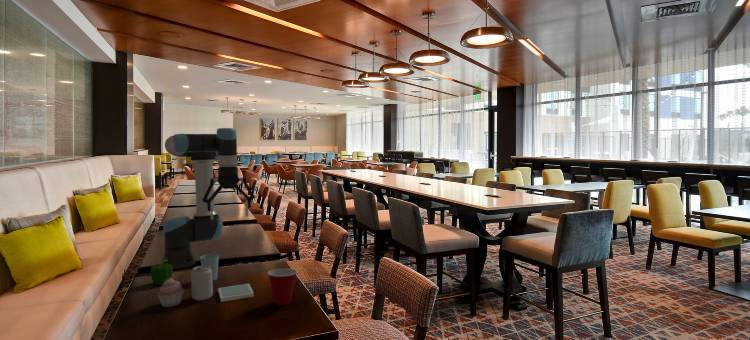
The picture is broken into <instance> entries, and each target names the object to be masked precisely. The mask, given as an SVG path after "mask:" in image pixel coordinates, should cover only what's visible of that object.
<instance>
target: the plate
mask: <svg viewBox="0 0 750 340" xmlns="http://www.w3.org/2000/svg"><path fill="white" fill-rule="evenodd" d="M217 290H218V296H219V300H220V303H224V302H229V301H237V300H241V299H248V298H253V297H255V293H254V291H253V289H252V287H251V284H250V283H244V284H237V285H231V286H224V287H218V289H217Z"/></svg>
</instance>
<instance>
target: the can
mask: <svg viewBox="0 0 750 340" xmlns="http://www.w3.org/2000/svg"><path fill="white" fill-rule="evenodd" d="M190 280H191V283H190V284H191V297H192V299H193V300H195V301H197V302H198V301H206V300H209V299H210V298H211V297H212V296H213V295H214V286H213V285H214V284H213V283H214V281H213V280H212V270H211V269H210V266H206V265H204V266H201V265H197V266H194V267H193V268H192V271H191V272H190Z"/></svg>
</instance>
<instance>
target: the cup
mask: <svg viewBox="0 0 750 340" xmlns="http://www.w3.org/2000/svg"><path fill="white" fill-rule="evenodd" d="M219 257H220V255H219V254H216V253H208V254H203V255H201V256H200V257H199V260H200V264H201V265H200V266H204V265H206V266H210V269H211V270H212V280H214V281H216V280H218V271H219V270H218V269H219V260H220V259H219Z"/></svg>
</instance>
